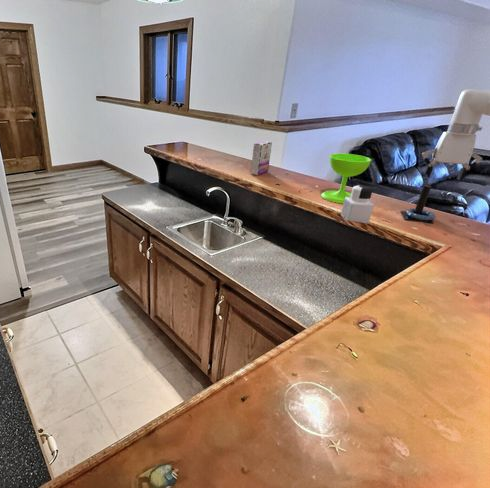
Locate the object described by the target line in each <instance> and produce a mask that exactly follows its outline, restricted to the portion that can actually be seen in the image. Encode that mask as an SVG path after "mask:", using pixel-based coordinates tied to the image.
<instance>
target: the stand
mask: <svg viewBox="0 0 490 488" xmlns="http://www.w3.org/2000/svg"><path fill="white" fill-rule="evenodd" d="M431 189H432V185H428V184H424V185H423V186H422V189H421V192H420V195H419V197H418V200H417V203H416V205H415V208H414V209H415V211H414V213H415V214H419V215H423V214H422V211H423V210H424V208H425V205H426V202H427V200H428V197H429V195H430V192H431ZM406 211H407V210H400V214H401V216H402V218H403V219H404V221H408V222H409V221H410V222H417V223H423V224H430V225H433V224H434V220H430V221H424V220H418V219H415V218H412V217H410V216H408V215H407V214H406ZM424 216H426V215H424Z"/></svg>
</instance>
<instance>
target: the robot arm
mask: <svg viewBox="0 0 490 488" xmlns="http://www.w3.org/2000/svg"><path fill="white" fill-rule="evenodd" d="M483 115H485V116H490V90H488V89H482V88H481V89H479V88H467V89H463V90H462V92H461V93H460V95H459V97H458V100H457V103H456V105H455V108H454V111H453V114H452V116H451V119H450V122H449V125H448V127H447V130H446V131H443V132H442V134H441V135H440V137H439V140H438V141H437V143H436V146H435V148H433V149H430V150H426V151H423V152H422V153H421V155H422V159H423V161H424V163H425V164H426V168H425V170H424V174H423V175H424V176H425V177H426V178H427V179H429V178H431V175H432V172H433V170H434V165H435V164H437V163H445V164H446V163H447V164H456V165H461V166H462V167H461V168H460V169H459V170H458V174H457V176H456V179H457V180H458V181H459V182H462V181H463V179H465V178H466V175H467V173H468V171H470V170H471V169H472V168H474V167H476V166H477V165H478V164H479V163H480V162H481V161H482V160H483V157H481V156H480V155H478V154H477V153H475V152H474V150H475V145H476V141H477V132H480V131H482V129H483V126H480V125H479V124H480V121H481V118H482V116H483ZM430 155H431V159H429V156H430ZM471 158H474V160H473V161H470V160H471Z"/></svg>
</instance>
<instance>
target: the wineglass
mask: <svg viewBox="0 0 490 488" xmlns="http://www.w3.org/2000/svg"><path fill="white" fill-rule="evenodd" d="M371 162H372V159H371V158H370V157H367V156H364V155H359V154H353V153H332V154H329V164H330V168H332V171H333V172H335V174H337V175H340V176H341V177H342V179H341V183H340V187H339V190H326V191H324V192H322V193H321V195H320V197H321V198H322V199H324V200H325V201H329V202H331V201H332V202H331V203H335V202H336V204H341V203H343V204H344V200H345V197H350V196H351V193H352V192H348V191H345V190H346V186H347V182H348V179H349V177H350V178H351V177H356V176H358V175H360V174H362V173H364V172H365V171H366V170H367V169H368V168H369V166H370V164H371ZM343 204H342V205H343Z"/></svg>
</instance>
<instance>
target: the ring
mask: <svg viewBox="0 0 490 488" xmlns="http://www.w3.org/2000/svg"><path fill="white" fill-rule="evenodd" d="M405 211H406V214H407V215H408V216H410V217H412V218H415V219H418V220H424V221H430V220H432V221H434V220H435V219H436V218H437V217H436V214H435V213H434V212H432V211H429V210H427V209H423V211H422V214H423V215H419V214H415V213H414V211H415V208H409V209H407V210H405ZM424 215H426V216H424Z"/></svg>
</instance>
